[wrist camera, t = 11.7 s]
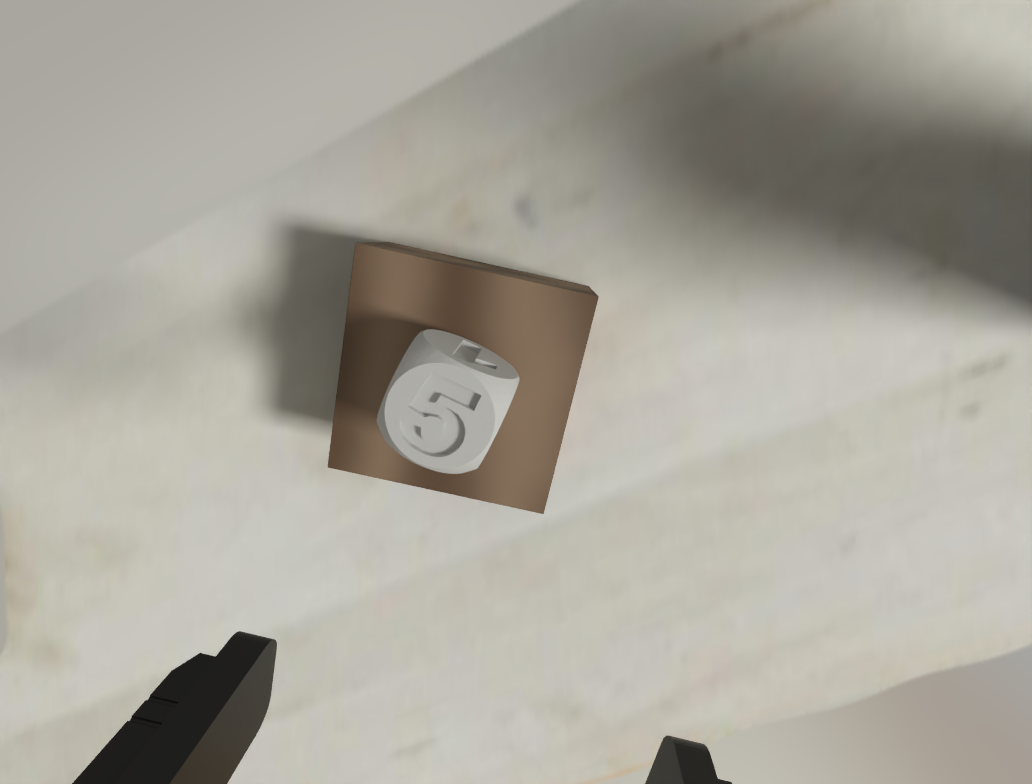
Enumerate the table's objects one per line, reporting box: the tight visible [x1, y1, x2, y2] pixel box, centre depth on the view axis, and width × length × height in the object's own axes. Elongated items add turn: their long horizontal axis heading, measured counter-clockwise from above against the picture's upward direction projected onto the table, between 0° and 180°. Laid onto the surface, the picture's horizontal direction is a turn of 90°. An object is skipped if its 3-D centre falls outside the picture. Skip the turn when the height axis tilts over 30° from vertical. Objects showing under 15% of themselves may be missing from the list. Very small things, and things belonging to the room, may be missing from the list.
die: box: [377, 329, 519, 474], centre depth 25 cm, size 5×5×5 cm
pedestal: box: [328, 242, 598, 514], centre depth 31 cm, size 12×12×6 cm
